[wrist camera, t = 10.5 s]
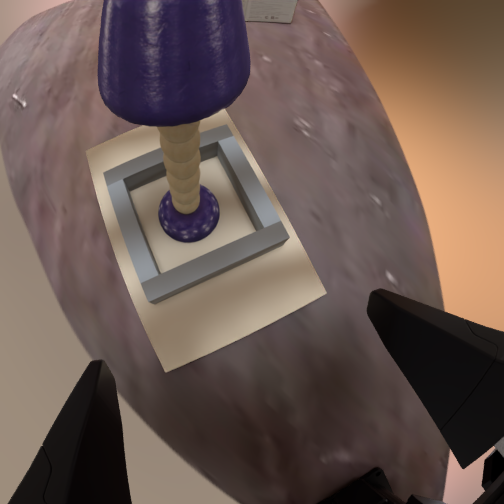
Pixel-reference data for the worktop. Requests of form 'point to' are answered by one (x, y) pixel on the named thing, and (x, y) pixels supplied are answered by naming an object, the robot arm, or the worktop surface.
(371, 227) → the worktop surface
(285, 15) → the small box
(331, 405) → the worktop surface
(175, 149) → the toy lamp
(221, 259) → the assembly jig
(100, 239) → the worktop surface
